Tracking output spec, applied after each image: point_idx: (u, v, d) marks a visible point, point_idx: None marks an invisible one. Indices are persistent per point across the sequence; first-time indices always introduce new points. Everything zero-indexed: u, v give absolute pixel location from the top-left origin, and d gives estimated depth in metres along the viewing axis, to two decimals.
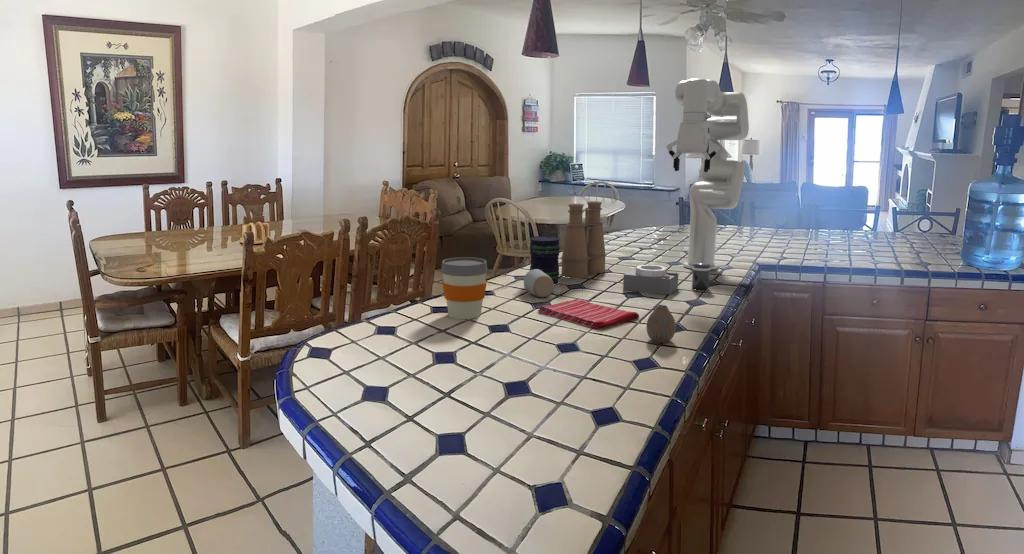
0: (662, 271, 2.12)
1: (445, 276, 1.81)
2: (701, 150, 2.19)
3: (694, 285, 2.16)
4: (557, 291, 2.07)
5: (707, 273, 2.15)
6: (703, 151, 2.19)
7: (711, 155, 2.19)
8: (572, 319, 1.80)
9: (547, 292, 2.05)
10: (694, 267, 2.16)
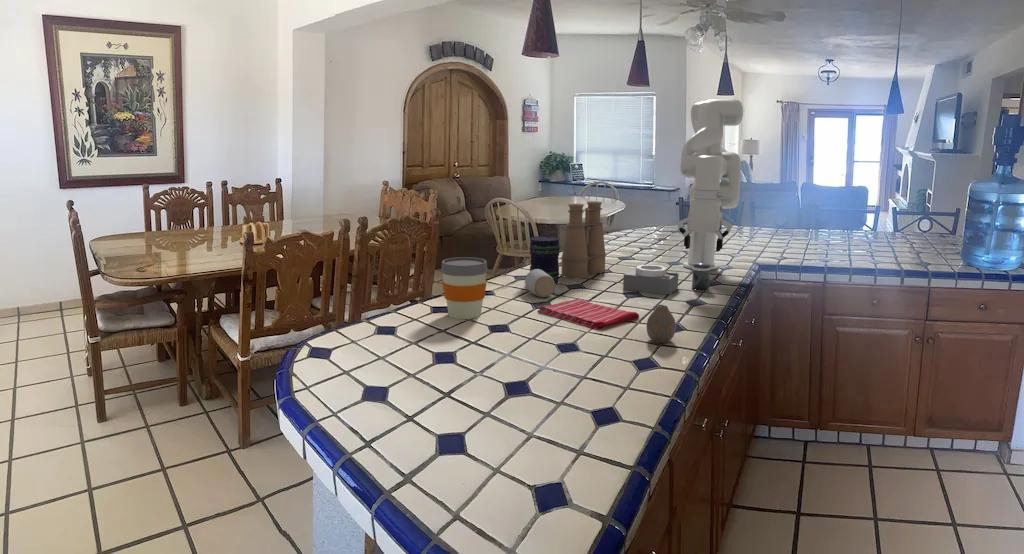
0: (662, 271, 2.12)
1: (445, 276, 1.81)
2: (713, 229, 2.10)
3: (694, 285, 2.16)
4: (558, 291, 2.07)
5: (707, 273, 2.15)
6: (715, 230, 2.10)
7: (724, 234, 2.10)
8: (572, 319, 1.80)
9: (548, 292, 2.05)
10: (694, 267, 2.16)
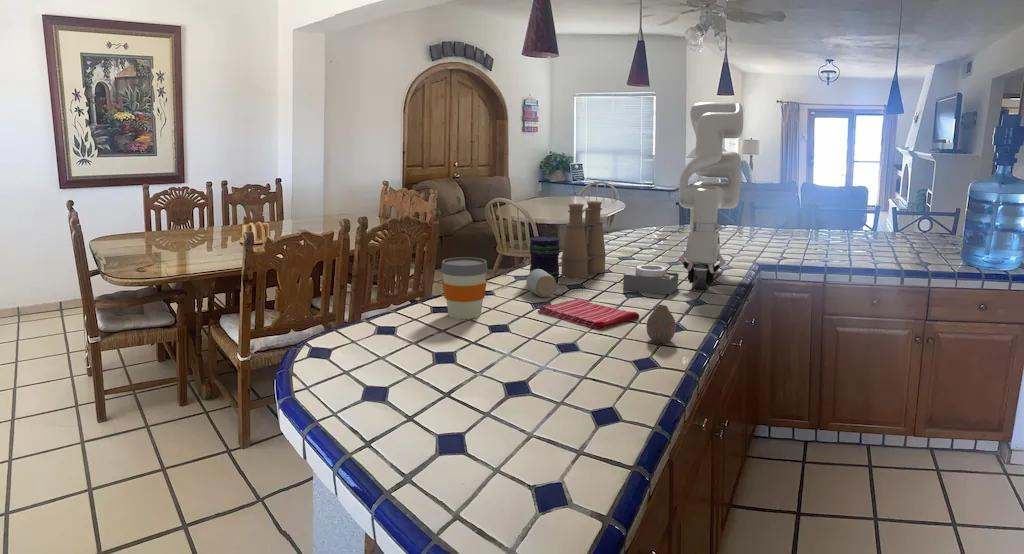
0: (662, 271, 2.12)
1: (445, 276, 1.81)
2: (711, 261, 2.13)
3: (694, 285, 2.16)
4: (560, 291, 2.08)
5: (707, 273, 2.15)
6: (713, 262, 2.13)
7: (715, 269, 2.14)
8: (572, 319, 1.80)
9: (550, 292, 2.05)
10: (694, 267, 2.16)
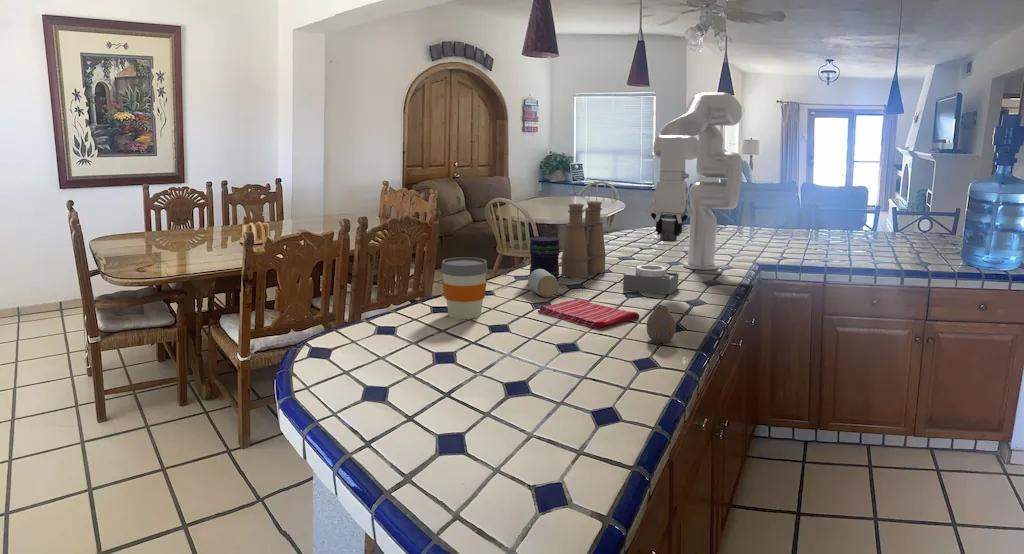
0: (662, 271, 2.12)
1: (445, 276, 1.81)
2: (679, 210, 2.09)
3: (662, 236, 2.12)
4: (561, 291, 2.08)
5: (675, 223, 2.11)
6: (681, 212, 2.09)
7: (683, 219, 2.10)
8: (572, 319, 1.80)
9: (552, 292, 2.05)
10: (662, 218, 2.12)
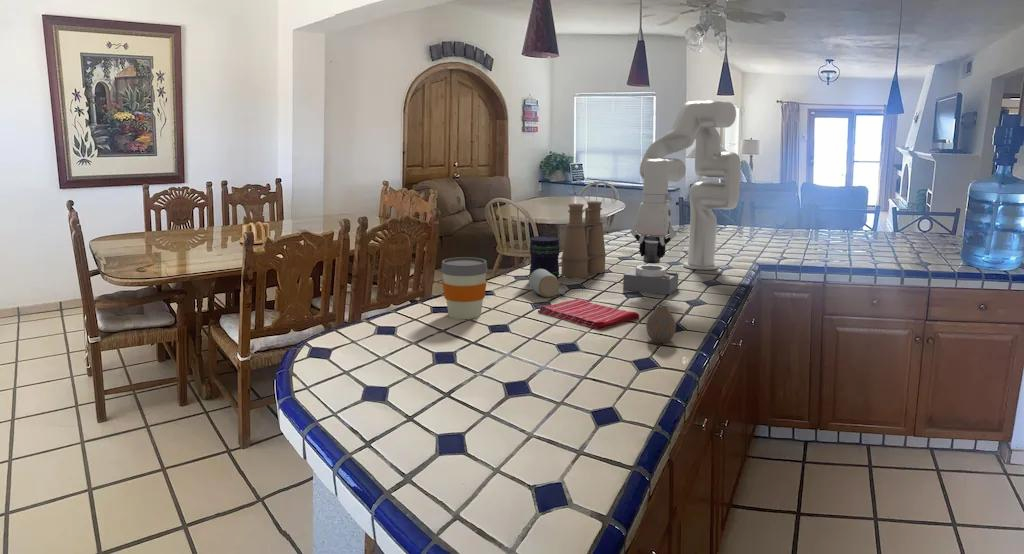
0: (662, 271, 2.12)
1: (445, 276, 1.81)
2: (661, 233, 2.10)
3: (645, 258, 2.14)
4: (562, 291, 2.08)
5: (658, 245, 2.12)
6: (664, 234, 2.10)
7: (666, 241, 2.11)
8: (572, 319, 1.80)
9: (552, 291, 2.05)
10: (645, 240, 2.13)
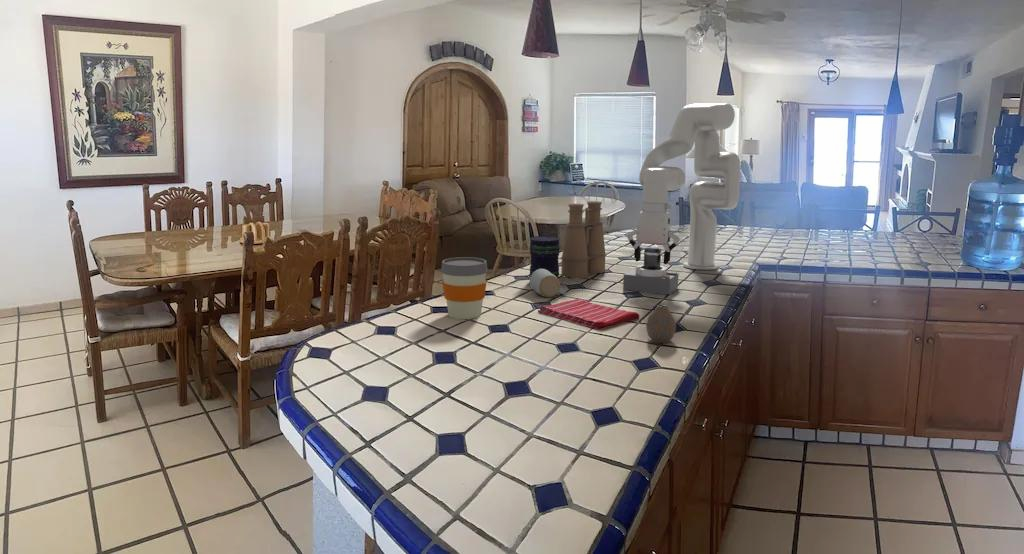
0: (662, 271, 2.12)
1: (445, 276, 1.81)
2: (661, 241, 2.11)
3: None
4: (563, 291, 2.08)
5: (658, 258, 2.13)
6: (663, 243, 2.11)
7: (671, 247, 2.11)
8: (572, 319, 1.80)
9: (553, 291, 2.06)
10: (645, 252, 2.14)
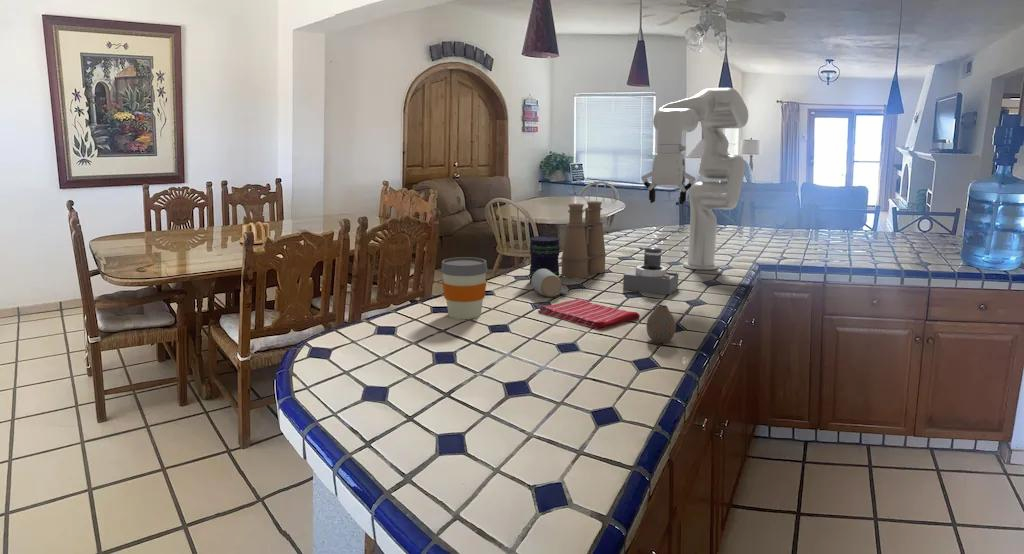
0: (662, 271, 2.12)
1: (445, 276, 1.81)
2: (676, 182, 2.15)
3: None
4: (565, 290, 2.08)
5: (658, 258, 2.13)
6: (678, 183, 2.15)
7: (686, 187, 2.15)
8: (573, 319, 1.80)
9: (555, 291, 2.06)
10: (645, 251, 2.14)
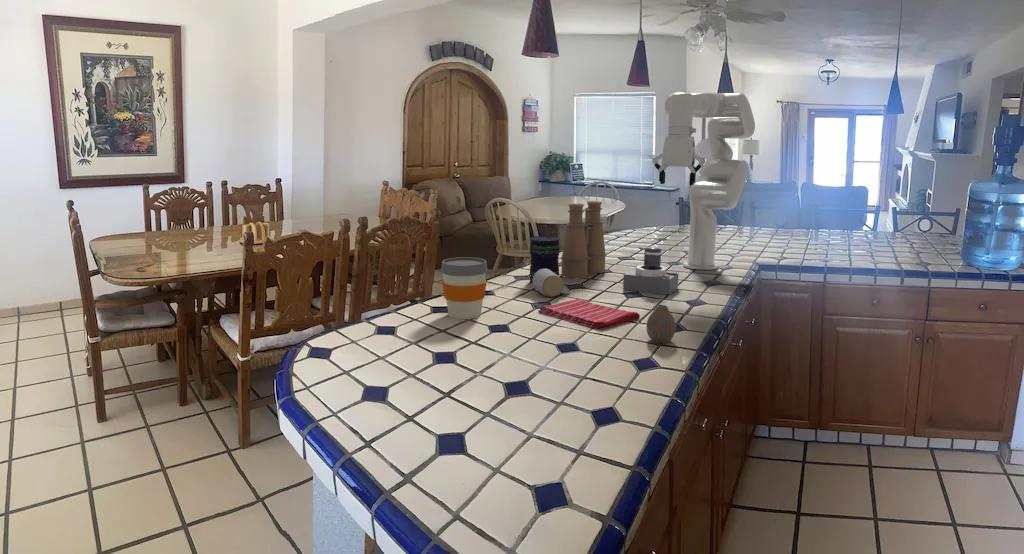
0: (662, 271, 2.12)
1: (445, 276, 1.81)
2: (686, 164, 2.20)
3: None
4: (566, 290, 2.08)
5: (658, 257, 2.13)
6: (688, 165, 2.20)
7: (696, 169, 2.21)
8: (573, 319, 1.80)
9: (556, 291, 2.06)
10: (645, 251, 2.14)
